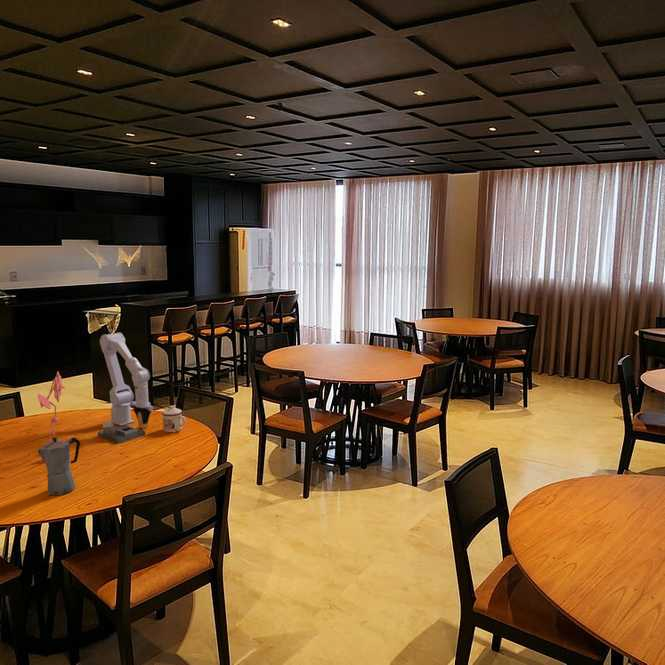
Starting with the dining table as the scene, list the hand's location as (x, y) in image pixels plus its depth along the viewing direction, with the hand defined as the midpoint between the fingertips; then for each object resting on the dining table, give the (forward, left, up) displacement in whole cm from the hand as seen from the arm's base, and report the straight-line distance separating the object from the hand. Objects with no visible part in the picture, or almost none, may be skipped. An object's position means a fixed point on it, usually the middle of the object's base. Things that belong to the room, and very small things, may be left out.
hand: (143, 422), depth 279 cm
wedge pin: (0, 0, -2) cm, 2 cm away
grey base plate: (+2, -13, -3) cm, 13 cm away
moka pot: (+37, -60, -3) cm, 71 cm away
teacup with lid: (+15, +7, -3) cm, 17 cm away
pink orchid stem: (+3, -41, -3) cm, 41 cm away
